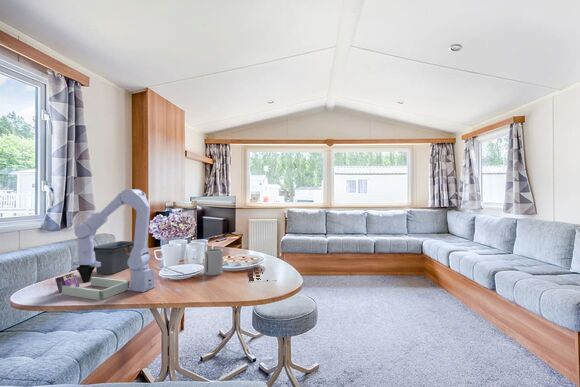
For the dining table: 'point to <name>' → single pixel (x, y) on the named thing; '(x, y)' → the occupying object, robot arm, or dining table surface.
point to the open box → (113, 289)
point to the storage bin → (113, 256)
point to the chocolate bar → (250, 274)
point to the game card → (66, 281)
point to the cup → (213, 261)
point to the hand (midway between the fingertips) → (86, 282)
